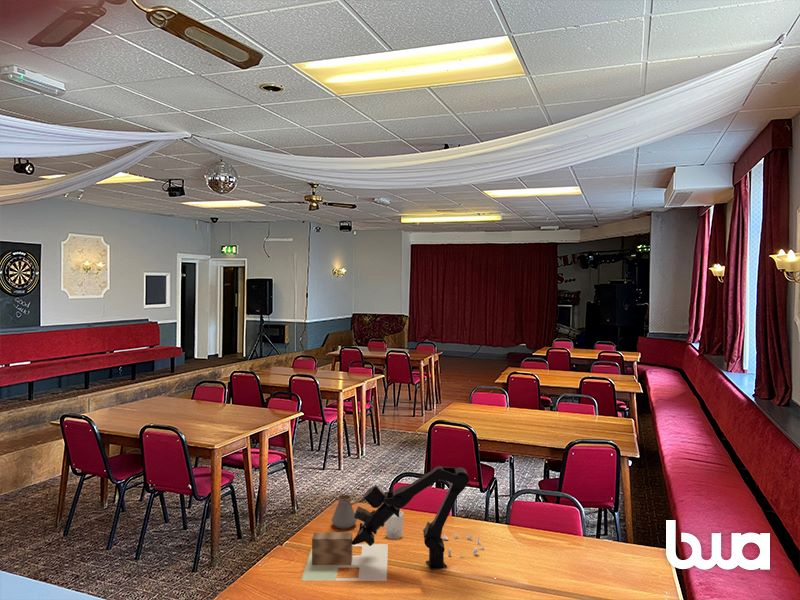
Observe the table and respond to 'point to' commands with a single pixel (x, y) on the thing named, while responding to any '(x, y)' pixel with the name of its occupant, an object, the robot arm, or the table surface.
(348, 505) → the coffee pot
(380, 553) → the trap board
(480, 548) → the game piece set
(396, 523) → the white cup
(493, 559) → the table surface
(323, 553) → the brown wooden block
